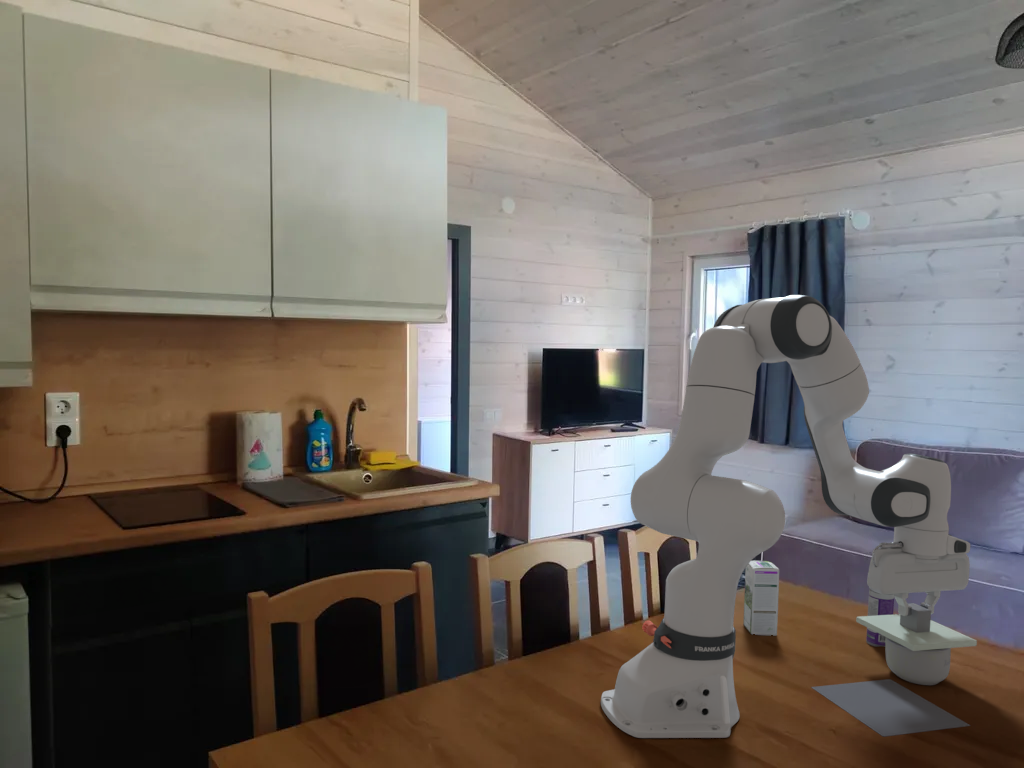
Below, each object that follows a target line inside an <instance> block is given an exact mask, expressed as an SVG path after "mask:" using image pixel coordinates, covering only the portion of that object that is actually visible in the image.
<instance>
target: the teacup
mask: <svg viewBox="0 0 1024 768" xmlns="http://www.w3.org/2000/svg"><path fill="white" fill-rule="evenodd" d="M884 647H885V648H884V649H885V660H886V665H887V666H888V668H889V670H891V672H892V673H893V674H895V675H896V676H897V677H898V678H899V679H902V680H904V681H906V682H909V683H912V684H917V685H922V686H935V685H937V684H939V683H940V682H942V681H944V680H946V678H948V676H949V674H950V669H951V650H952V648H944V649H932V650H919V651H912V650H910V649H909V648H907V647H905V646H903V645H901V644H899V643H897V642H895V641H893V640H891V639H889V638H887V637H885V646H884Z"/></svg>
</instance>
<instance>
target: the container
mask: <svg viewBox="0 0 1024 768" xmlns="http://www.w3.org/2000/svg"><path fill="white" fill-rule="evenodd" d="M868 588H869V587H868ZM867 601H868V604H867V605H868V606H867V616H876V615H892V614H894V610H895V609H894V607H895V597H894V594H884V595H883V594H879V593H877V592H875V591H873V590H871V589H870V588H869V591H868V600H867ZM865 638H866V639H865V641H866V644H868V645H870V646H872V647H885V636H883V635H881V634H879V633H877V632H875V631H873V630H871V629H869V628H867V627H866V637H865Z"/></svg>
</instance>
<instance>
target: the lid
mask: <svg viewBox="0 0 1024 768" xmlns="http://www.w3.org/2000/svg"><path fill="white" fill-rule="evenodd" d="M907 604H908V606H911V607H912V611H911V612H912V615H910V616H902V615H900V614H899V613H898V614H897V613H895V614H894V613H893V614H892V615H876V616H868V615H861V616H860V615H859V616H856V619H855V621H856V623H857V624H860V625H861V626H863V627H866V629H867V628H869V629H871V630H873V631H875V632H877V633H879V634H881V635H883V636H885V637H887V638H889V639H891V640H893V641H895V642H897V643H899V644H901V645H903V646H905V647H907V648H909V649H910V650H912V651H919V650H932V649H944V648H951V649H954V648H967V647H969V648H970V647H977V646H978V645H977V644H978V640H977V639H974V638H972V637H970V636H968V635H965V634H962V633H961V632H959V631H957V630H954V629H952V628H950V627H948V626H946V625H943V624H940V623H938V622H936V621H934V620H932V619H931V616H932V614H931V610H929V609H926V608H924V607H922V606H920V605H919V604H917V603H913V602H912V603H909V602H907Z"/></svg>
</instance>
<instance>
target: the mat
mask: <svg viewBox="0 0 1024 768" xmlns="http://www.w3.org/2000/svg"><path fill="white" fill-rule="evenodd" d="M811 689H813V691H816V692H817V693H819V694H820V695H821V696H823V697H825V698H826V699H827V700H828V701H830V702H832V703H833V704H834V705H836V706H837V707H839V708H840V709H842V710H843V711H845V713H846V712H847V714H849V715H851V716H852V717H853V718H855V719H856V720H858V721H859V722H861V723H863V724H864V725H865V726H867V727H868V728H869V729H871V730H872V731H874V732H875V733H877V734H879V735H880V736H881V737H892V736H900V735H907V734H915V733H922V732H923V733H925V732H931V731H939V730H940V731H941V730H946V729H947V730H948V729H955V728H963V727H971V725H970V724H968V723H967V722H965V721H964V720H962V719H960V718H959V717H957V716H955V715H953V714H951V713H950V712H948V711H946V710H944V709H943V708H941V707H939V706H937V705H936V704H934V703H933V702H931V701H929V700H927V699H925V698H924V697H922V696H920V695H919V694H917V693H915V692H913V691H912V690H910V689H908V688H906V687H905V686H903V685H902V684H900V683H897V682H896V681H894V680H893V679H890V678H886V679H878V680H869V681H857V682H856V681H855V682H849V683H848V682H847V683H846V682H845V683H839V684H828V685H820V686H811Z"/></svg>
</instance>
